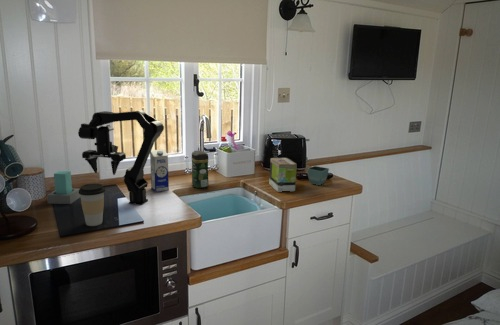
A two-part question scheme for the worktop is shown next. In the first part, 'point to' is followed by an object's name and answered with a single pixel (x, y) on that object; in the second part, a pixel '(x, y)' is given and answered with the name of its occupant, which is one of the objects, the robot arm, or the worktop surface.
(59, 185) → the teal peg
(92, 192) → the coffee cup
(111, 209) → the worktop surface
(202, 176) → the coffee jar
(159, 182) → the milk carton
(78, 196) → the socket block
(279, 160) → the tea box
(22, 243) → the worktop surface
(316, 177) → the flower pot
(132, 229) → the worktop surface
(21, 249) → the worktop surface
